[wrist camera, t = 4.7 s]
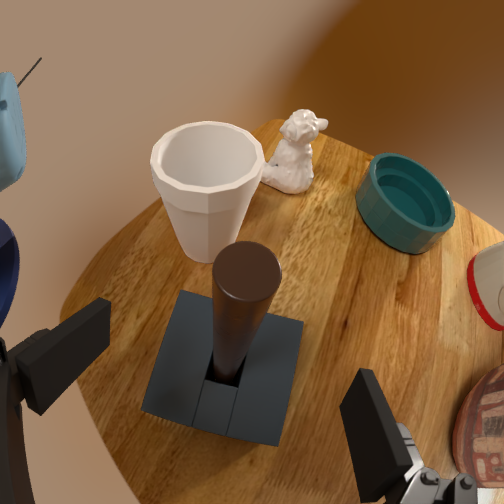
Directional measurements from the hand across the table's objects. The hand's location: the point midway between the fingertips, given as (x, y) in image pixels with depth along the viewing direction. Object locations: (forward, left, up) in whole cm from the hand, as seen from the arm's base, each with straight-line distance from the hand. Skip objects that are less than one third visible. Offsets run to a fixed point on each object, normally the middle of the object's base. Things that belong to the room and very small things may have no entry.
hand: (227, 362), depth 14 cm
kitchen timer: (+25, +36, -14) cm, 46 cm away
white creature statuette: (-13, +26, -14) cm, 32 cm away
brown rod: (-1, +1, -14) cm, 14 cm away
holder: (-1, +1, -14) cm, 14 cm away
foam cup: (-13, +11, -14) cm, 22 cm away
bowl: (+3, +34, -14) cm, 37 cm away
